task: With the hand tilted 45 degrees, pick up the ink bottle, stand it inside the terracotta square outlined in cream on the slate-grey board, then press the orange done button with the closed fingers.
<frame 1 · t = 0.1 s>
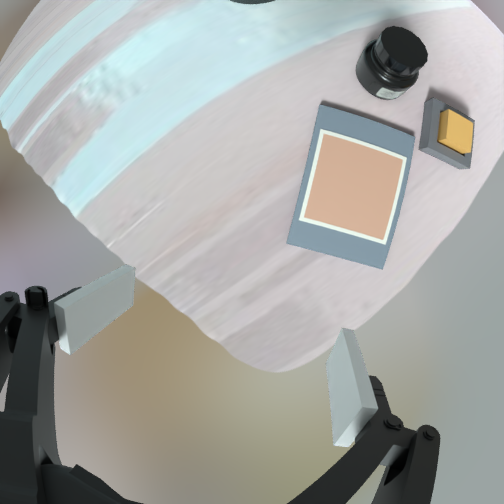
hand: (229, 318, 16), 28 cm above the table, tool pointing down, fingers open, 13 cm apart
done button: (454, 132, 30), point 4 cm above the table, slide at 0.0 cm
ink bottle: (380, 77, 34), on the table
picture board: (354, 186, 39), on the table
button housing: (443, 135, 34), on the table
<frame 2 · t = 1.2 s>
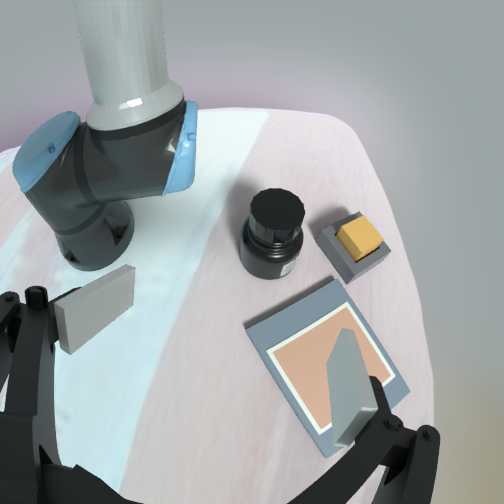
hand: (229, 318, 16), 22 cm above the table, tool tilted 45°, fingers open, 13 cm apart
done button: (358, 239, 41), point 4 cm above the table, slide at 0.0 cm
ink bottle: (267, 256, 44), on the table
picture board: (333, 367, 35), on the table
button housing: (350, 251, 45), on the table
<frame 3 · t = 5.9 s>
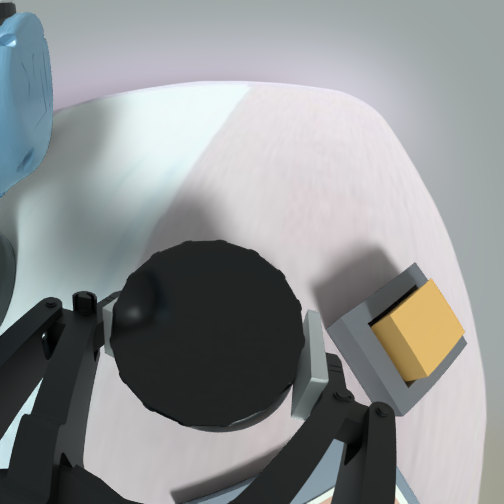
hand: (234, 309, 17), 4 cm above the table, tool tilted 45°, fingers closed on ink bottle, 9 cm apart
done button: (416, 332, 17), point 4 cm above the table, slide at 0.0 cm
ink bottle: (221, 365, 19), on the table, touching gripper
button housing: (392, 343, 20), on the table
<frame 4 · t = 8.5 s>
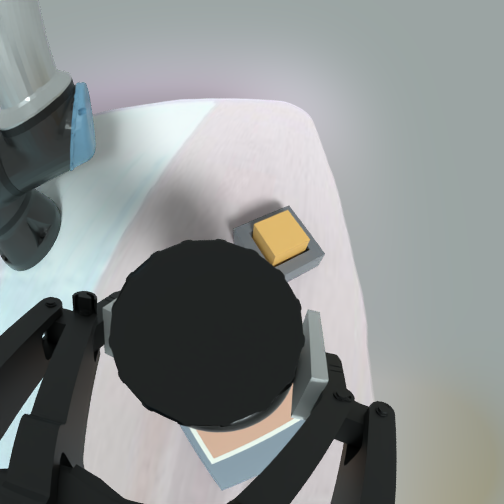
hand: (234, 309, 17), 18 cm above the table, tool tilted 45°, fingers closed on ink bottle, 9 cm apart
done button: (279, 239, 36), point 4 cm above the table, slide at 0.0 cm
ink bottle: (221, 365, 19), point 13 cm above the table, touching gripper
picture board: (235, 391, 30), on the table
button housing: (275, 253, 39), on the table
when the fingers open (7 cm above the table, at t = 11.1 s): ink bottle drops 1 cm, resting on picture board.
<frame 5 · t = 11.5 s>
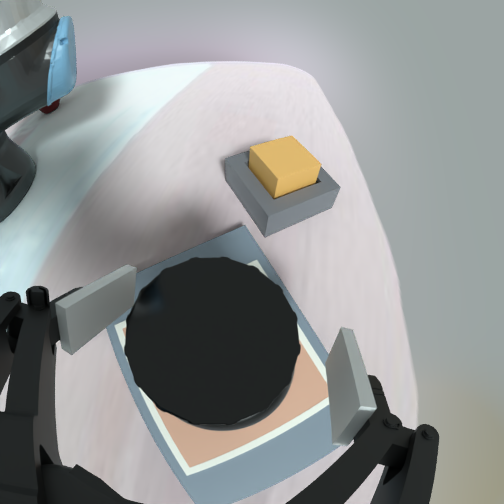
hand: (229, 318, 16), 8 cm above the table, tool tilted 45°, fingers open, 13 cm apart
done button: (282, 169, 28), point 4 cm above the table, slide at 0.0 cm
ink bottle: (223, 368, 20), point 1 cm above the table, touching picture board
picture board: (223, 368, 21), on the table
button housing: (278, 193, 31), on the table
mug: (55, 108, 43), on the table
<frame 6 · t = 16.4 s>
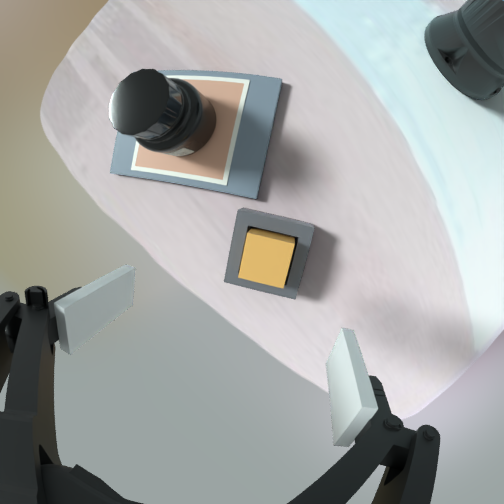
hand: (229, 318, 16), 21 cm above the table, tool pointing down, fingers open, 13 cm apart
done button: (267, 256, 32), point 4 cm above the table, slide at 0.0 cm
ink bottle: (185, 124, 32), point 1 cm above the table, touching picture board
picture board: (189, 125, 33), on the table
button housing: (270, 249, 35), on the table
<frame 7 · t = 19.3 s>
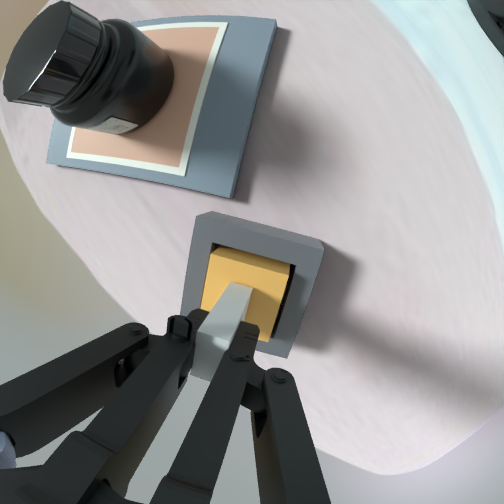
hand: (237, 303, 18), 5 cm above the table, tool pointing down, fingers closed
done button: (245, 289, 20), point 3 cm above the table, slide at 1.0 cm, touching gripper
ink bottle: (133, 89, 19), point 1 cm above the table, touching picture board
picture board: (140, 92, 20), on the table
button housing: (252, 277, 23), on the table
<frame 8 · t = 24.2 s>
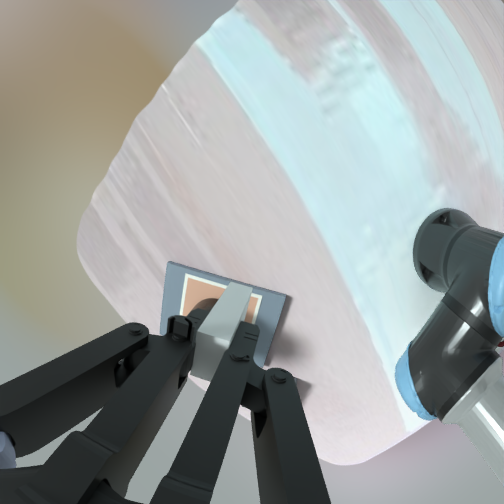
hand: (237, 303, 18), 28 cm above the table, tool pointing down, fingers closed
picture board: (217, 315, 50), on the table
mug: (499, 318, 41), on the table
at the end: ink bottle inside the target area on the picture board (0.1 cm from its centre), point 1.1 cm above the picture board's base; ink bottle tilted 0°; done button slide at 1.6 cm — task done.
